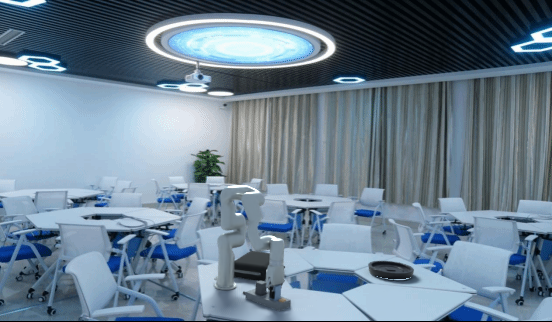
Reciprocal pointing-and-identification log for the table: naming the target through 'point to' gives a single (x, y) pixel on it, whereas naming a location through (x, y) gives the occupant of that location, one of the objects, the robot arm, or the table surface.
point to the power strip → (266, 297)
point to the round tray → (390, 269)
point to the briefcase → (252, 266)
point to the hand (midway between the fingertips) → (274, 296)
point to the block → (277, 292)
